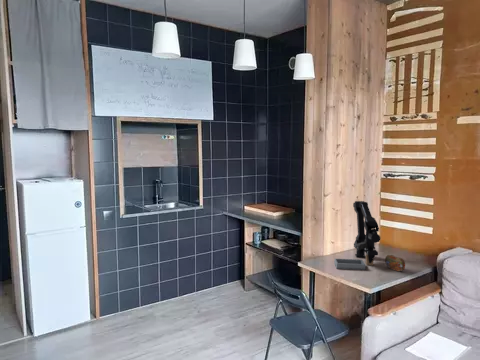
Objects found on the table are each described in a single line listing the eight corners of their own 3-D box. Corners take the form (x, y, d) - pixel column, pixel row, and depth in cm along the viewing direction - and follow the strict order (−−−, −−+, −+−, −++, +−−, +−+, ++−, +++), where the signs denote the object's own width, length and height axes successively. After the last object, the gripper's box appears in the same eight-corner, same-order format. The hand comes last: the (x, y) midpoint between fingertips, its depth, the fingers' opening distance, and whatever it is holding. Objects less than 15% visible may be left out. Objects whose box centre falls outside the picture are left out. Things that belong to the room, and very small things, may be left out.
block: (365, 263, 247) (365, 254, 247) (371, 263, 247) (371, 254, 246) (366, 265, 243) (367, 256, 243) (373, 265, 243) (373, 256, 242)
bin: (334, 263, 246) (334, 258, 245) (361, 264, 244) (361, 259, 243) (336, 268, 235) (336, 263, 235) (365, 270, 233) (365, 264, 233)
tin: (384, 266, 242) (384, 253, 241) (388, 265, 243) (388, 252, 242) (402, 273, 228) (402, 259, 227) (405, 272, 229) (406, 259, 228)
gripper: (354, 235, 254) (354, 257, 255) (360, 242, 235) (359, 266, 236) (371, 235, 252) (370, 258, 254) (378, 242, 234) (377, 266, 235)
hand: (369, 262), depth 245 cm, fingers closed on block, 4 cm apart
